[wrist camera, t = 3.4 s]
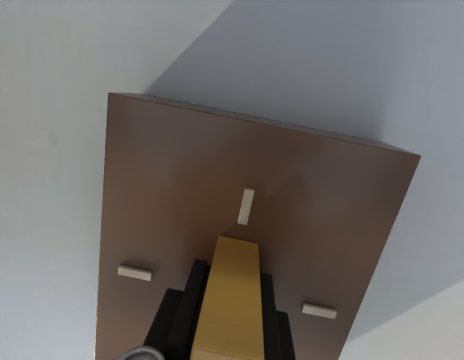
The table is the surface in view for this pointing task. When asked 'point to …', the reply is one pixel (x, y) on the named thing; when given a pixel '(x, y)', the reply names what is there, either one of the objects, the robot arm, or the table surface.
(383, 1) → the table surface
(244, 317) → the thumbturn
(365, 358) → the table surface
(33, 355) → the table surface
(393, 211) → the plate
